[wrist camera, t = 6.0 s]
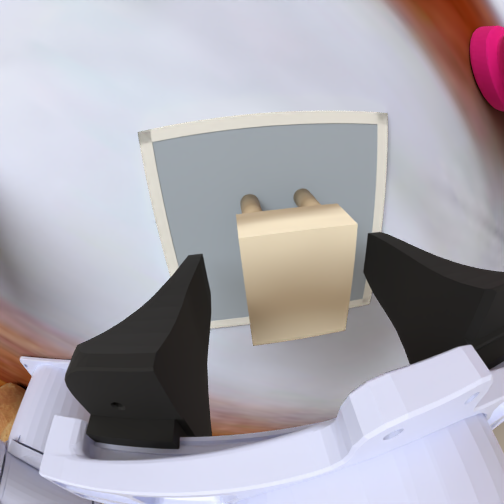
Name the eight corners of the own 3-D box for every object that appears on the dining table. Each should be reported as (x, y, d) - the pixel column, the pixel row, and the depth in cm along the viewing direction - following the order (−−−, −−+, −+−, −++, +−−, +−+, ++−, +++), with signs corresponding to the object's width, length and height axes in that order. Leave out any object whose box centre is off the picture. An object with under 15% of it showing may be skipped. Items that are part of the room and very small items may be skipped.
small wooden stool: (233, 190, 13) (238, 237, 9) (315, 182, 14) (357, 223, 9) (244, 278, 16) (253, 345, 12) (315, 268, 16) (345, 330, 12)
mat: (367, 300, 18) (369, 304, 18) (187, 325, 18) (187, 330, 17) (383, 112, 12) (387, 113, 12) (140, 131, 12) (137, 132, 11)
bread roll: (55, 393, 22) (36, 454, 15) (74, 439, 28) (65, 484, 22) (-11, 361, 20) (-35, 413, 13) (20, 416, 26) (7, 457, 19)
